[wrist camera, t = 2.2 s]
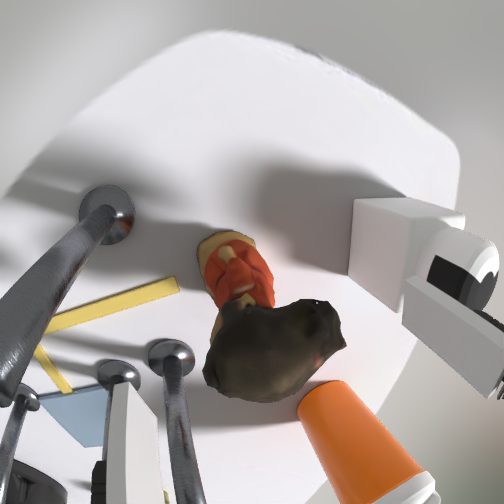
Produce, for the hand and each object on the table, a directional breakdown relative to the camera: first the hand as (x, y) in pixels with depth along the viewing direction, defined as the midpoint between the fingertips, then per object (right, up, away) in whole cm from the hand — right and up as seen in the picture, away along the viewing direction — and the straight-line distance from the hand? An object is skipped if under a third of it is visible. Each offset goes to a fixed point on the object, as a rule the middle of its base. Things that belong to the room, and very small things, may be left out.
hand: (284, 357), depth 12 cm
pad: (-18, -13, +11) cm, 25 cm away
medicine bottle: (+10, +6, +13) cm, 18 cm away
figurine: (-3, +3, +10) cm, 11 cm away
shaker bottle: (+7, -13, +19) cm, 24 cm away
